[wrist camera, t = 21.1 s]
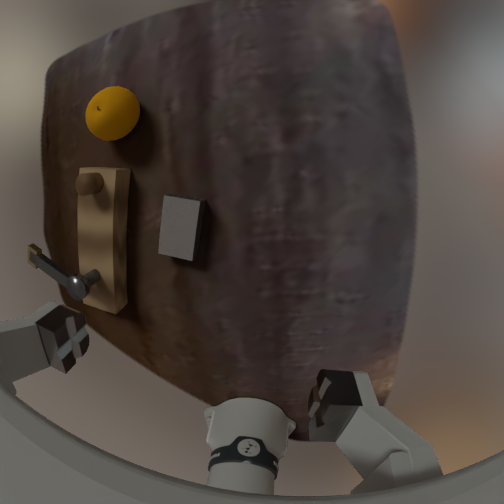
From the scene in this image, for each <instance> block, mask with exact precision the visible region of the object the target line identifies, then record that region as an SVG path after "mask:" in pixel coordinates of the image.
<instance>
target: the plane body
mask: <svg viewBox="0 0 504 504" xmlns="http://www.w3.org/2000/svg"><path fill="white" fill-rule="evenodd" d="M130 172H131V169H121V168H103V167H89V168H80V172H79V176H78V177H77V179H76V182H75V188H76V191H77V193H78V250H79V266H80V274H82V275H83V276H84V277H85V278H86V279H87V280H88V282H89V285H90V293H89V295H88V296H86V297H85V298H84V299H83V303H84V304H87V305H90V306H93V307H96V308H99V309H102V310H105V311H108V312H111V313H114V314H117V313H118V312H119V311H120V310H121V309H122V308H123V307H124V306H125V305H126V304H127V303H128V300H127V275H126V236H127V210H128V195H129V182H130Z"/></svg>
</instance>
